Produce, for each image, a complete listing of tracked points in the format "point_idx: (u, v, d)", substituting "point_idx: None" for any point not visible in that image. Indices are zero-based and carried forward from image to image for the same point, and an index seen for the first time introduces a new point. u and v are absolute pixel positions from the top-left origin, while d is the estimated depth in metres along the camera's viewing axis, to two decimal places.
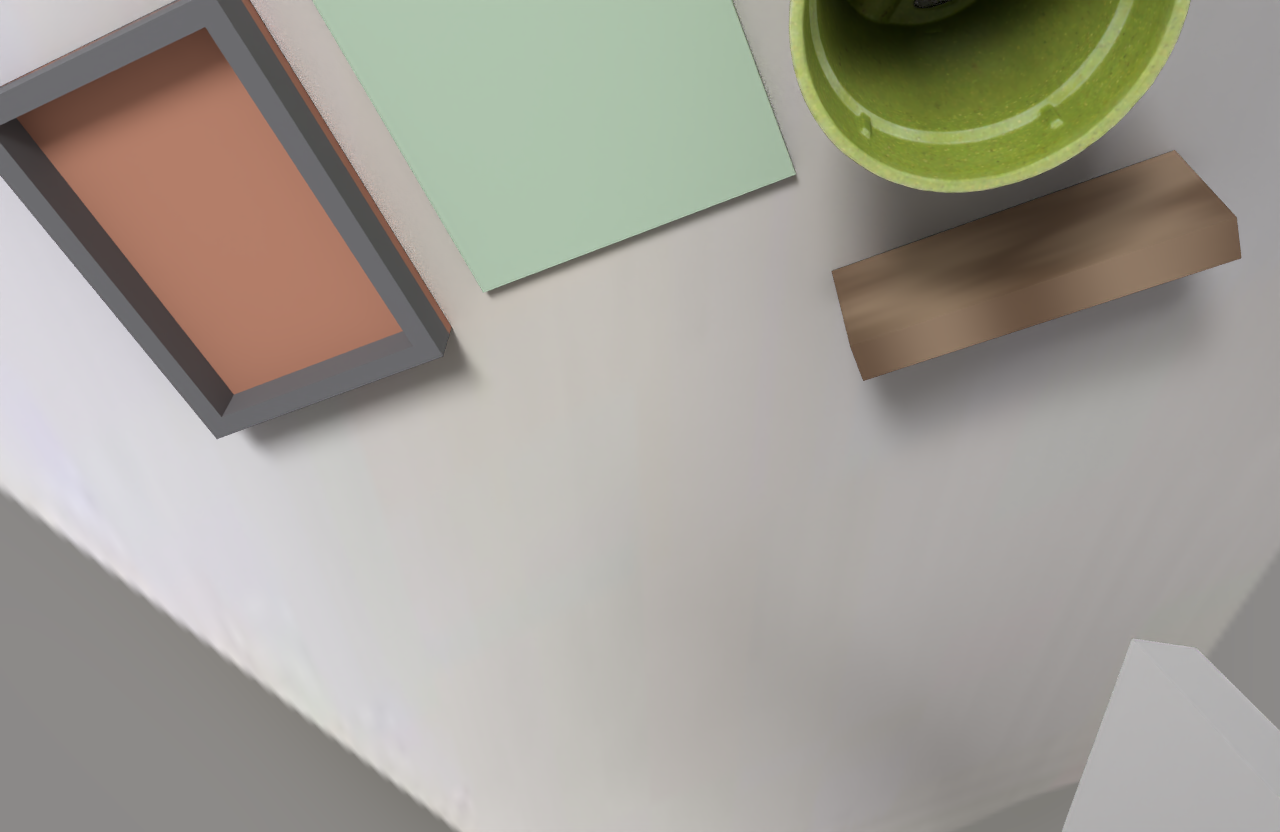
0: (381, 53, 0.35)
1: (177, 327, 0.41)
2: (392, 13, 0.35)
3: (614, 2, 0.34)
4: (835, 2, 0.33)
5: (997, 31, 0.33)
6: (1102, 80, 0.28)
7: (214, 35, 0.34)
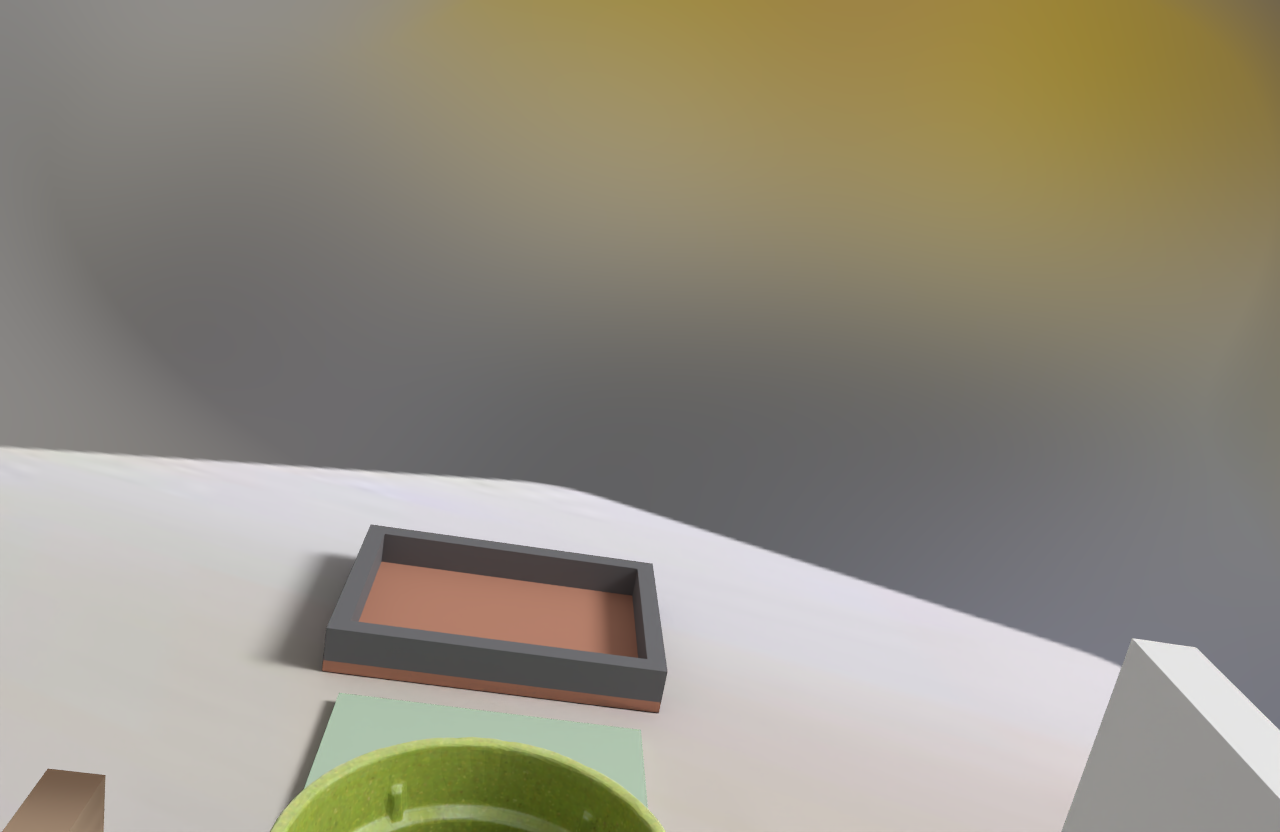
0: (567, 738, 0.43)
1: (453, 567, 0.54)
2: (592, 756, 0.42)
3: None
4: None
5: None
6: None
7: (640, 659, 0.47)
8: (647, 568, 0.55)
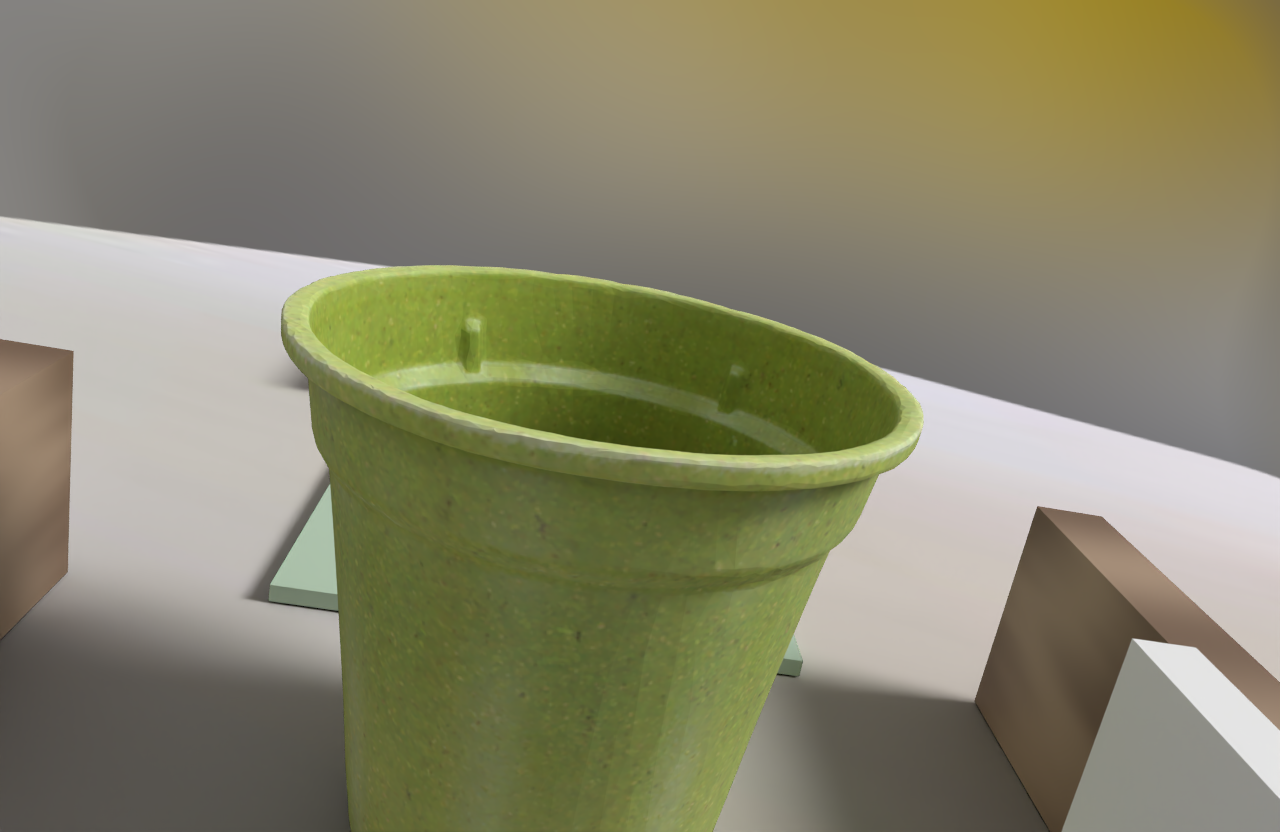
0: None
1: None
2: None
3: None
4: None
5: None
6: None
7: None
8: None
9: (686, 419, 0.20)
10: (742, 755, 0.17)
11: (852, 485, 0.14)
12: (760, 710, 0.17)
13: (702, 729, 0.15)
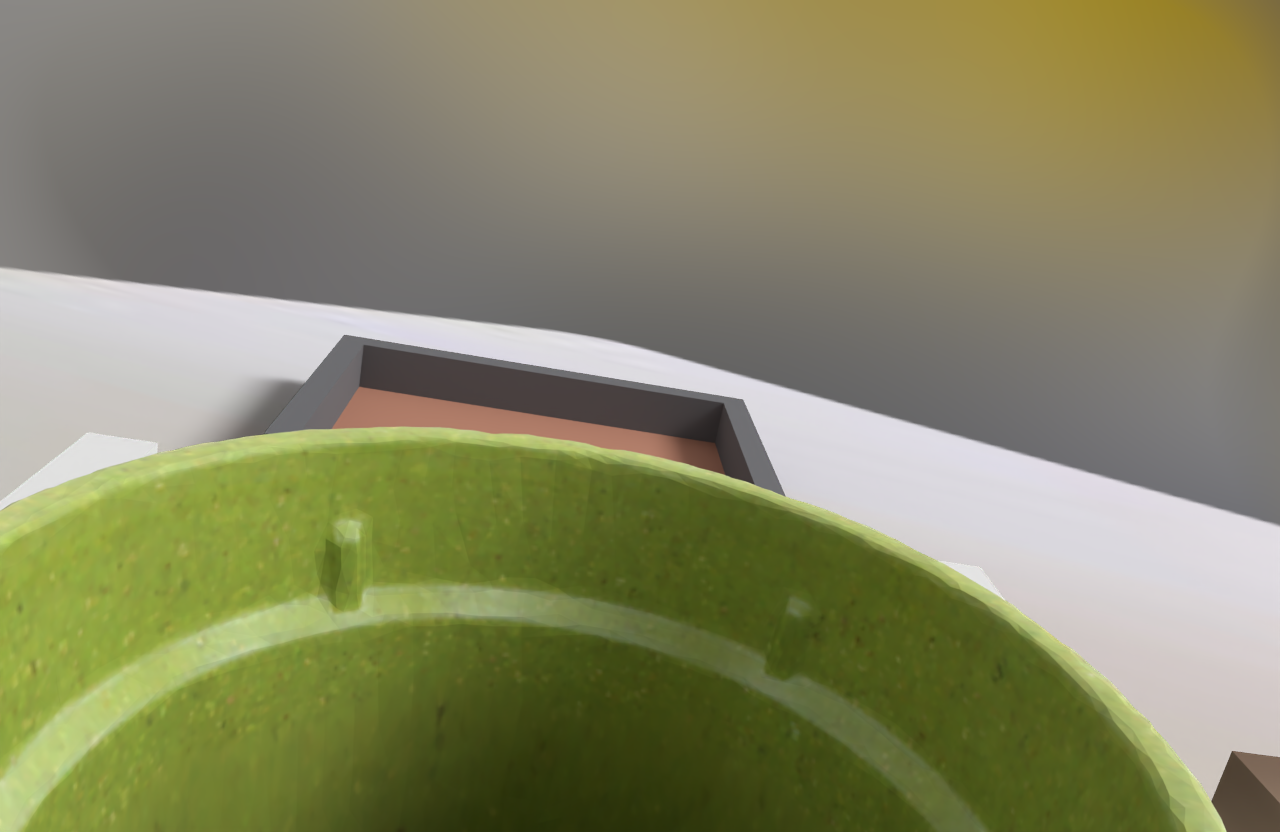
0: None
1: (461, 397, 0.38)
2: None
3: None
4: None
5: None
6: None
7: None
8: (737, 403, 0.39)
9: (709, 683, 0.12)
10: None
11: None
12: None
13: None
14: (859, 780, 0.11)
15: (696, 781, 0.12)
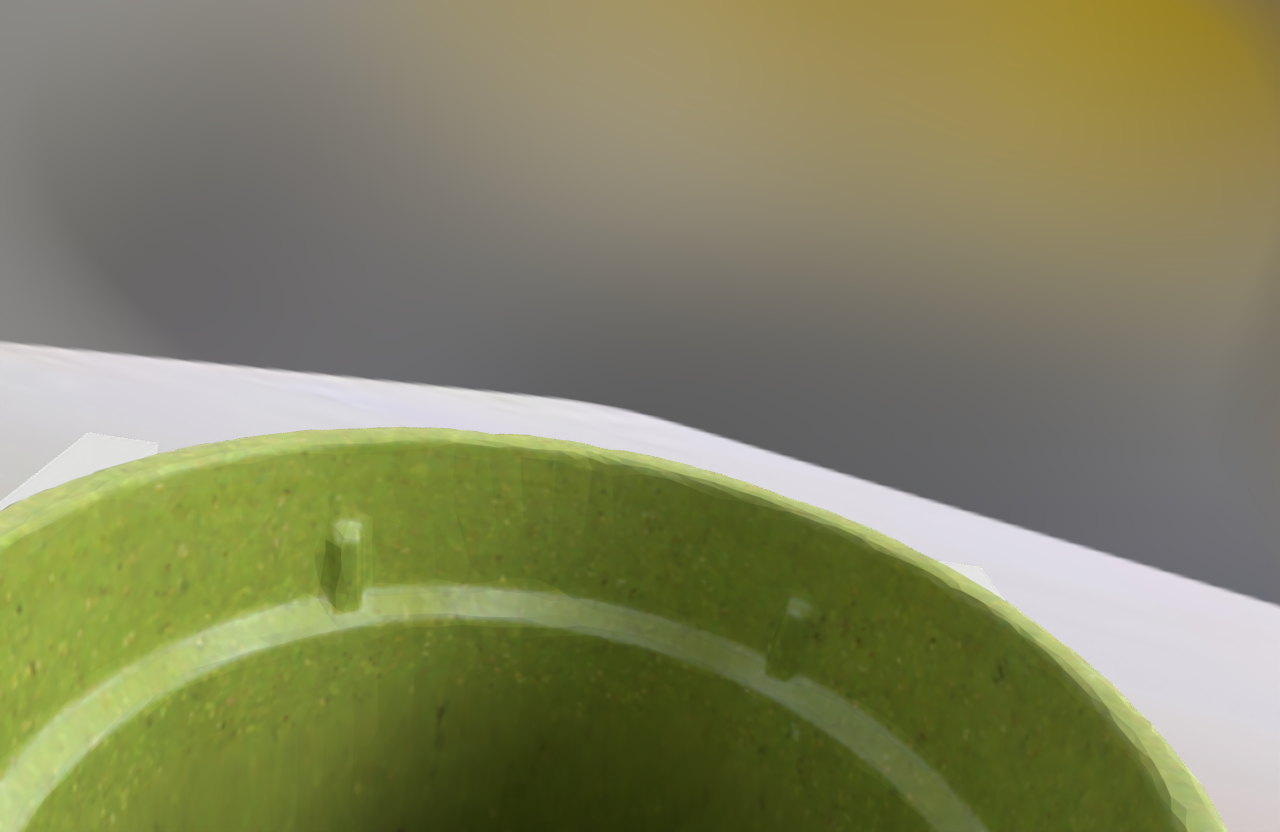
0: None
1: None
2: None
3: None
4: None
5: None
6: None
7: None
8: None
9: (710, 684, 0.12)
10: None
11: None
12: None
13: None
14: (859, 780, 0.11)
15: (696, 782, 0.12)
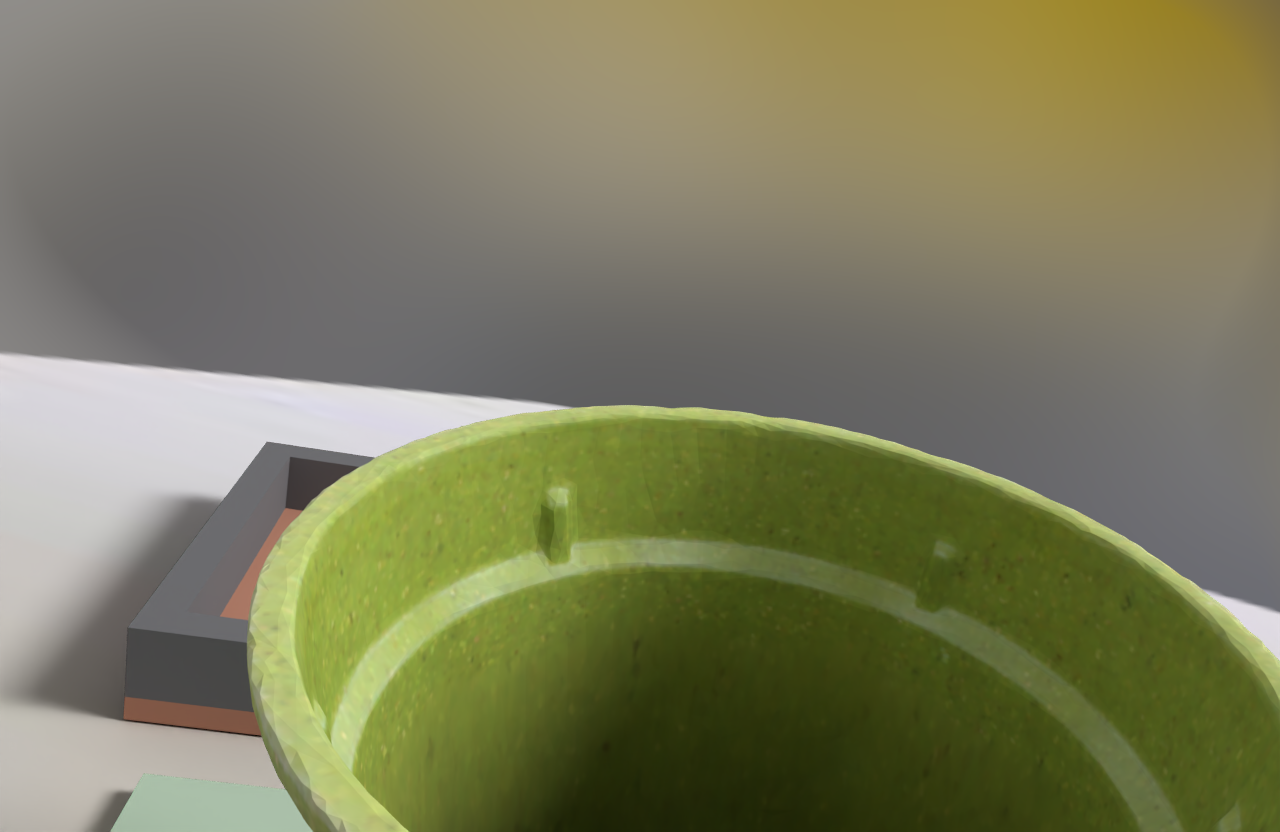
0: None
1: None
2: None
3: None
4: None
5: None
6: None
7: None
8: None
9: (867, 615, 0.14)
10: None
11: None
12: None
13: None
14: (1003, 694, 0.13)
15: (857, 699, 0.14)
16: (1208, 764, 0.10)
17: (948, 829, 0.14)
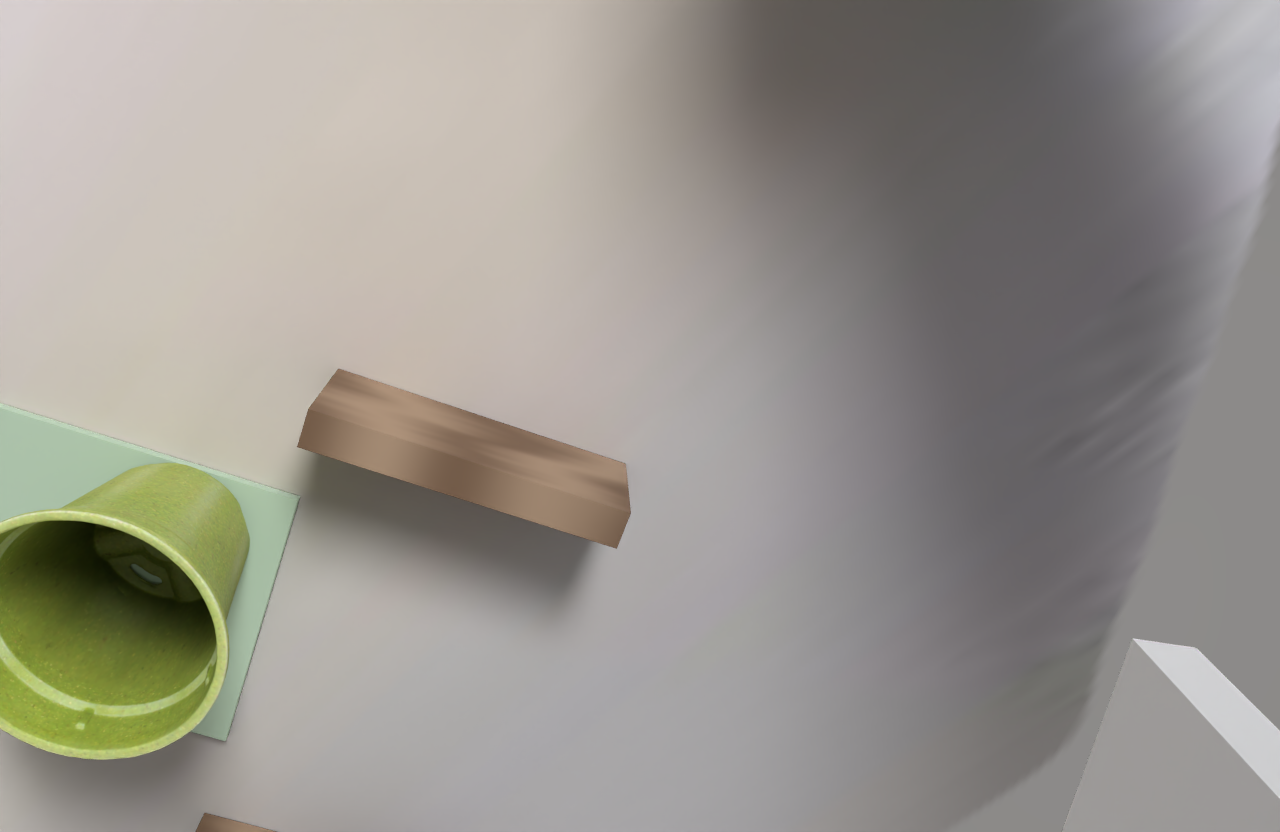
0: (7, 481, 0.44)
1: None
2: (37, 467, 0.44)
3: None
4: (75, 526, 0.42)
5: (142, 631, 0.43)
6: (125, 726, 0.39)
7: None
8: None
9: (36, 523, 0.37)
10: (218, 516, 0.42)
11: None
12: (213, 525, 0.41)
13: (231, 572, 0.41)
14: None
15: None
16: None
17: (114, 491, 0.39)
